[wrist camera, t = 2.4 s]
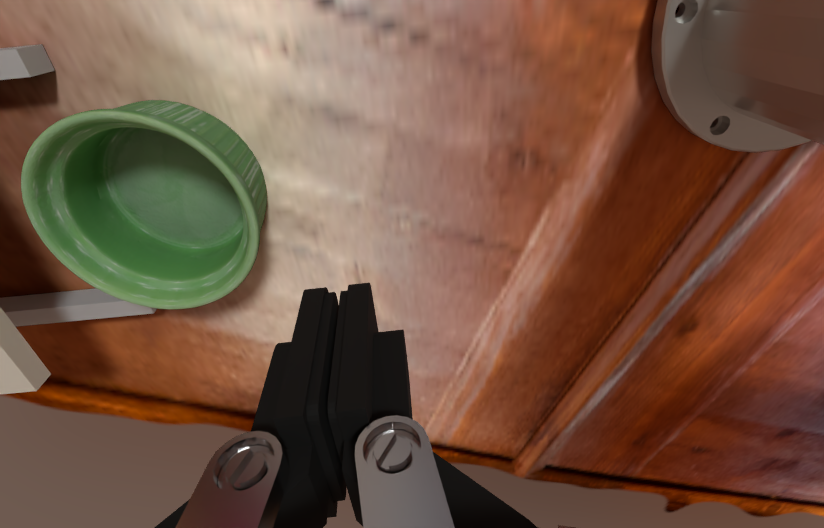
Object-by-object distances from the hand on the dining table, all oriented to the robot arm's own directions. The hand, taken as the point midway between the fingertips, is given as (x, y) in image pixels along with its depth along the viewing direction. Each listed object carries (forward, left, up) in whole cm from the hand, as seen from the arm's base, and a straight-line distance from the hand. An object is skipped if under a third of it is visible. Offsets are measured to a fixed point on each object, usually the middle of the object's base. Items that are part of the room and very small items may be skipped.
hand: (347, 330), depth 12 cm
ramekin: (+9, 0, -12) cm, 15 cm away
